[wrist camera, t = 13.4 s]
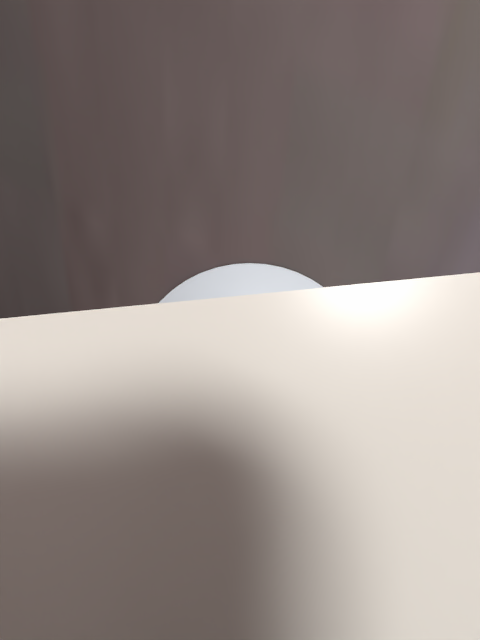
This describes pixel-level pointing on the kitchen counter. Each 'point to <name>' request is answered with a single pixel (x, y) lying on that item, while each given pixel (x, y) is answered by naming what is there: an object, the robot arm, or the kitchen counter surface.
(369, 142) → the kitchen counter surface
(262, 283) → the white round disc
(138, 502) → the cream cube
